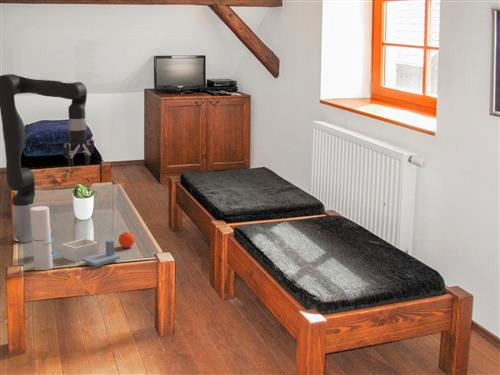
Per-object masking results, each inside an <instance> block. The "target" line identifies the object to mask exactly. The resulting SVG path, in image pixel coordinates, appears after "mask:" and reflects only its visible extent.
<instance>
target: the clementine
mask: <svg viewBox="0 0 500 375" xmlns="http://www.w3.org/2000/svg"><path fill="white" fill-rule="evenodd" d="M118 244H119V245H120V246H121V247H122V248H125V249H126V248H127V249H128V248H131V247H132V246H133V245H134V244H135V236H134V234H132V233H131V231H124V232H122V233H121V234H119V237H118Z"/></svg>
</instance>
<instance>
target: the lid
mask: <svg viewBox="0 0 500 375" xmlns="http://www.w3.org/2000/svg"><path fill="white" fill-rule="evenodd" d="M120 258H121V257H120V255H117V254H115V241H114V240H111V239H106V240H105V251H104V252H99V254H96V255H92V256H88V257H85V258H81V261H82V262H84V263H85V264H86V265H88V266H91V267H93V268H99V267H102V265H103V266H105V265H104V264H106V265H110V264H113V263H116V260H119V259H120ZM81 261H80V262H81ZM109 263H110V264H109Z"/></svg>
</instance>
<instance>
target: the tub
mask: <svg viewBox="0 0 500 375" xmlns="http://www.w3.org/2000/svg"><path fill="white" fill-rule="evenodd" d="M99 245H100V243H99V241H96V240H93V239H90V238H87V237H86V238H81V239H77V240H73V241H70V242H65V243H62V257H63V259H66V260H68V261H72V262H75V263H77V262H81V258H85V257H88V256H92V255H96V254H99V253H100V246H99Z"/></svg>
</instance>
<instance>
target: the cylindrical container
mask: <svg viewBox="0 0 500 375" xmlns="http://www.w3.org/2000/svg"><path fill="white" fill-rule="evenodd" d="M30 210H31V225H32V240H33V241H32V252H33V268H34V270H35V271H37V270H46V271H49V269H50V270H52V269H53V268H54V267H53V258H52V250H53V249H52V242H51V233H50V230H51V220H50V208H49V206H45V205H39V206H34V207H33V208H31V209H30Z"/></svg>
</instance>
